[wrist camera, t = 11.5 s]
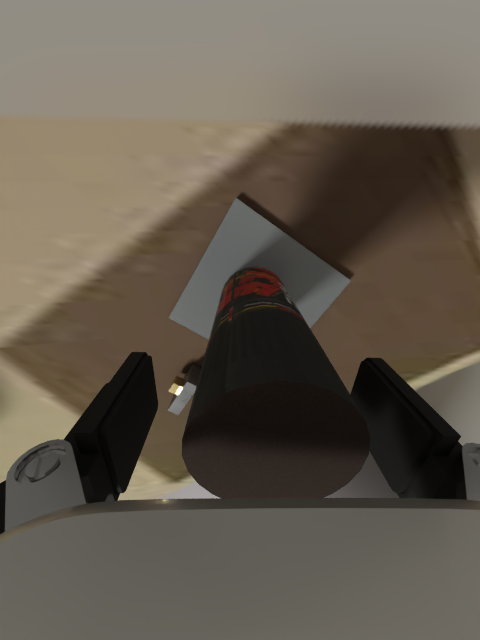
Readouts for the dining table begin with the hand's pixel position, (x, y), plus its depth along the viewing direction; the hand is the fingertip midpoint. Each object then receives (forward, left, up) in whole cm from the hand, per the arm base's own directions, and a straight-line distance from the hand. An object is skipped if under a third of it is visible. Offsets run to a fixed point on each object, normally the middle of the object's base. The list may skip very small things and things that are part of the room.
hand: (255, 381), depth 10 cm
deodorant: (0, 0, -12) cm, 12 cm away
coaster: (+1, 0, -12) cm, 12 cm away
